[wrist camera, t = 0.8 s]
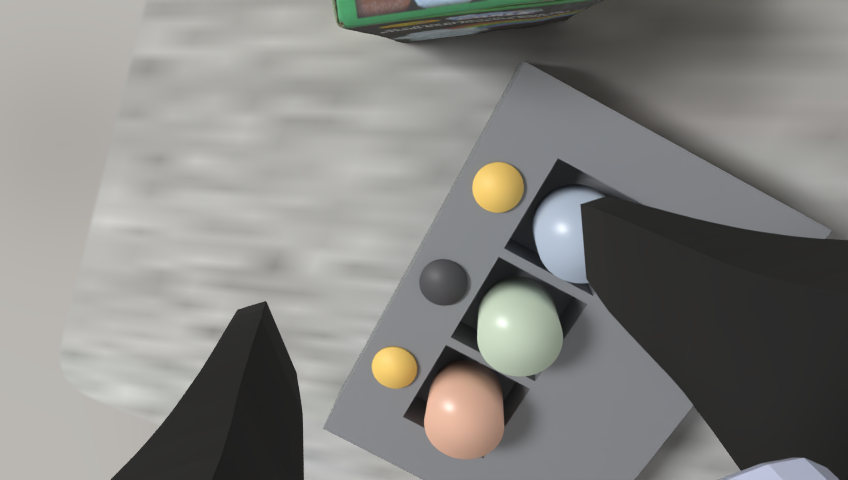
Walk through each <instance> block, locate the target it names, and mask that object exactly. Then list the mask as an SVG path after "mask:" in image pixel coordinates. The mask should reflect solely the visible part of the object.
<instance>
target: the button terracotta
mask: <svg viewBox="0 0 848 480" xmlns="http://www.w3.org/2000/svg"><path fill="white" fill-rule="evenodd" d="M424 427H425V432H426V435H427V437H428V439H429V440H430V442H431V443H432V444H433V446H434V447H435V448H436V449H438V450H439V451H440V452H442V453H444V454H445V455H448V456H450V457H453V458H457V459H475V458H479V457H482V456H484V455H486V454H488V453H490V452H491V451H492V450H494V449H495V448H496V447H497V445H498V444H499V442H500V441H501V439H502V436H503V433H504V411H503V392H502V386H501V383H500V381H499V379H498V377H497V376H496V375H495V373H494V372H493V371H492V370H490V369H489V368H488V367H486V366H484V365H482V364H480V363H477V362H474V361H466V360H463V361H455V362H452V363H449V364H447V365H445V366H444V367H442V368H441V369H440V370H439V371H438V372H437V373H436V374H435V376H434V377H433V379H432V382H431V385H430V390H429V396H428V402H427V407H426V413H425V418H424Z"/></svg>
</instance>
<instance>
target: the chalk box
mask: <svg viewBox="0 0 848 480" xmlns="http://www.w3.org/2000/svg"><path fill="white" fill-rule="evenodd" d="M332 1H333V9H334V13H335V18H336V22H337V25H338V26H339V27H342V28H345V29H349V30H354V31H358V32H363V33H369V34H374V35H378V36H381V37H386V38H389V39H392V40H395V41H398V42H411V41H419V40H428V39H437V38H445V37H455V36H462V35H469V34H476V33H484V32H488V31H495V30H505V29H518V28H525V27H533V26H539V25H544V24H549V23H554V22H559V21H564V20H567V19H569V18H570V17H571V16H573V15H574V14H576V13H578V12H580V11H582V10H584V9H587V8H588V7H590V6H592V5H594V4H596V3H598V2H600V1H602V0H332Z"/></svg>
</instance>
